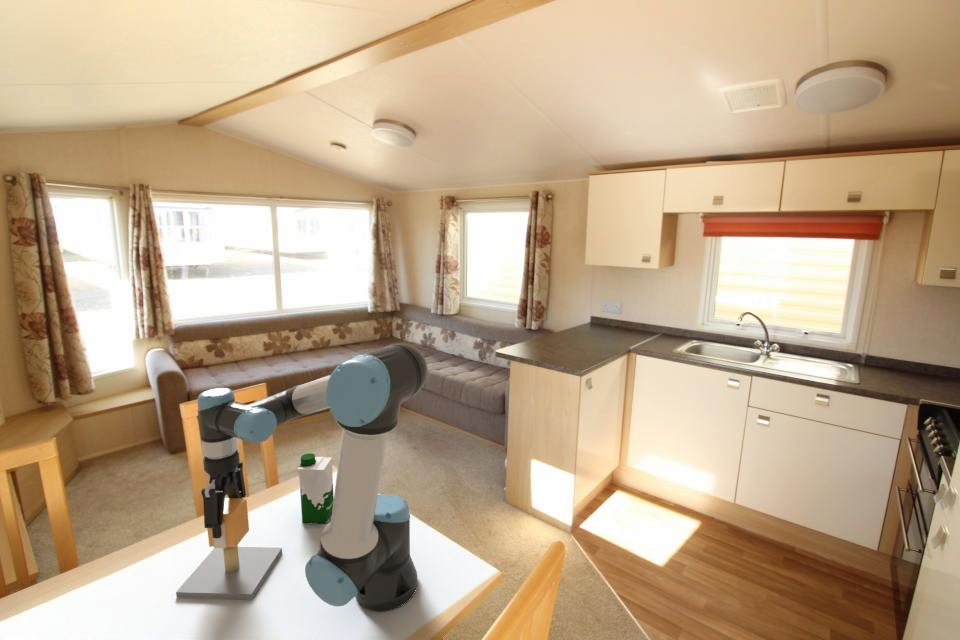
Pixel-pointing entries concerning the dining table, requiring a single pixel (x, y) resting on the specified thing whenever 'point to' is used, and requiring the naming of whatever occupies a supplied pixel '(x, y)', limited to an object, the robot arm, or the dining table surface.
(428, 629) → the dining table surface
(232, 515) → the wooden toy block
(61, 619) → the dining table surface
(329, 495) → the milk carton
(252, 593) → the board
